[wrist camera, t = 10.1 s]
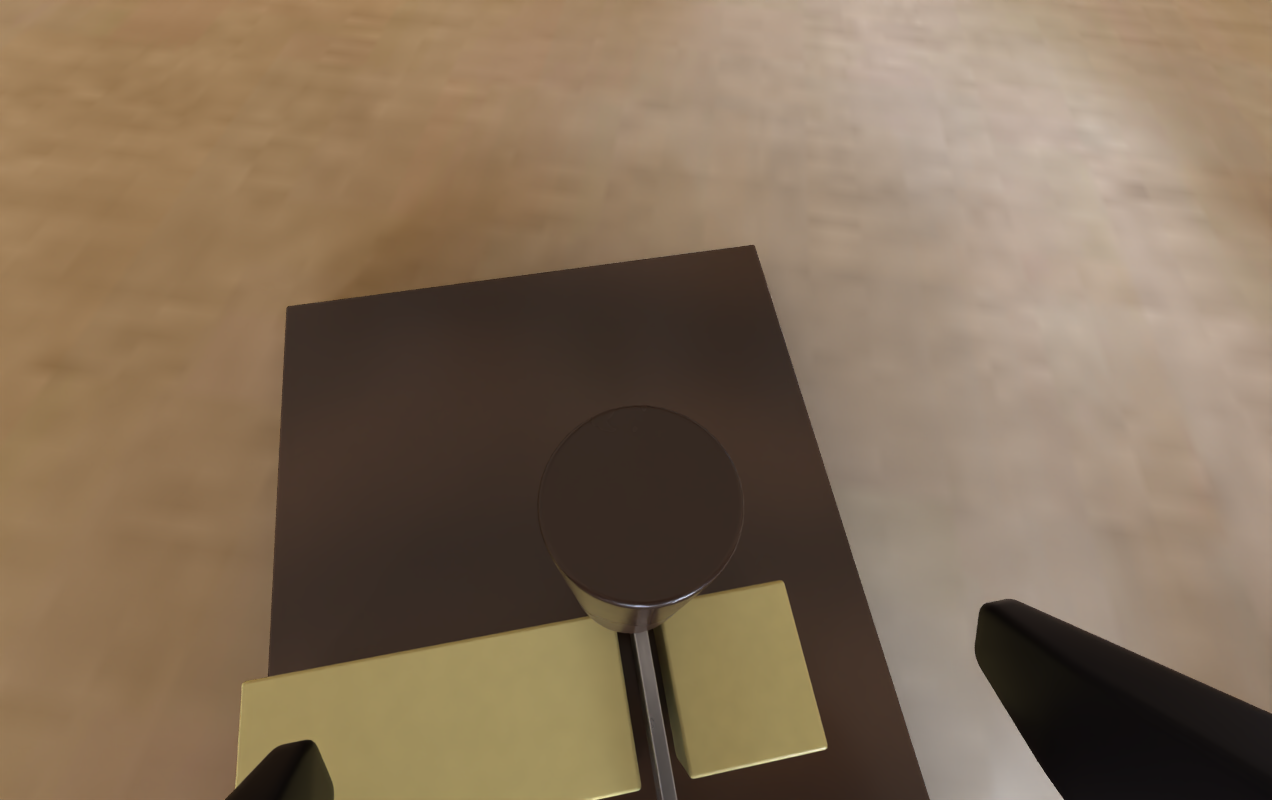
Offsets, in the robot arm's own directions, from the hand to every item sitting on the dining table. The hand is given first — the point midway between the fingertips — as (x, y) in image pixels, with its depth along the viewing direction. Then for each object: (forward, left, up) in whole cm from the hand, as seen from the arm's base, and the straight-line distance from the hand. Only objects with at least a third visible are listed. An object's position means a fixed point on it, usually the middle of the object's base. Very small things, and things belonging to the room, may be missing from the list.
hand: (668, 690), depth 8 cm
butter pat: (-2, -1, -8) cm, 9 cm away
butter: (+3, +3, -8) cm, 10 cm away
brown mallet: (0, 0, -8) cm, 8 cm away
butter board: (+3, -1, -10) cm, 11 cm away
